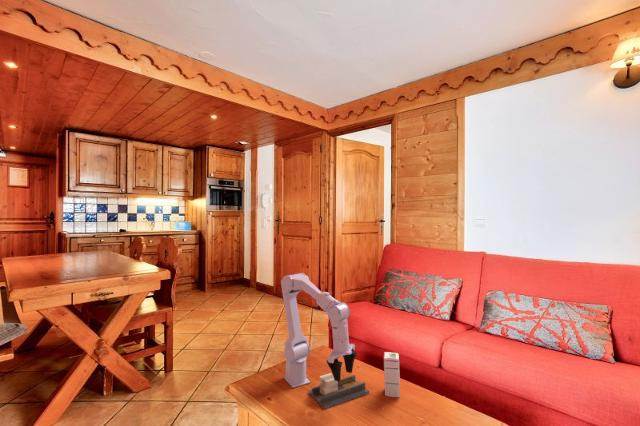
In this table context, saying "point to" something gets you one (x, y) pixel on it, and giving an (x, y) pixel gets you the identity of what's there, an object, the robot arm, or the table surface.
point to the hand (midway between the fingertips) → (343, 376)
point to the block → (328, 384)
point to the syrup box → (391, 374)
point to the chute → (340, 392)
